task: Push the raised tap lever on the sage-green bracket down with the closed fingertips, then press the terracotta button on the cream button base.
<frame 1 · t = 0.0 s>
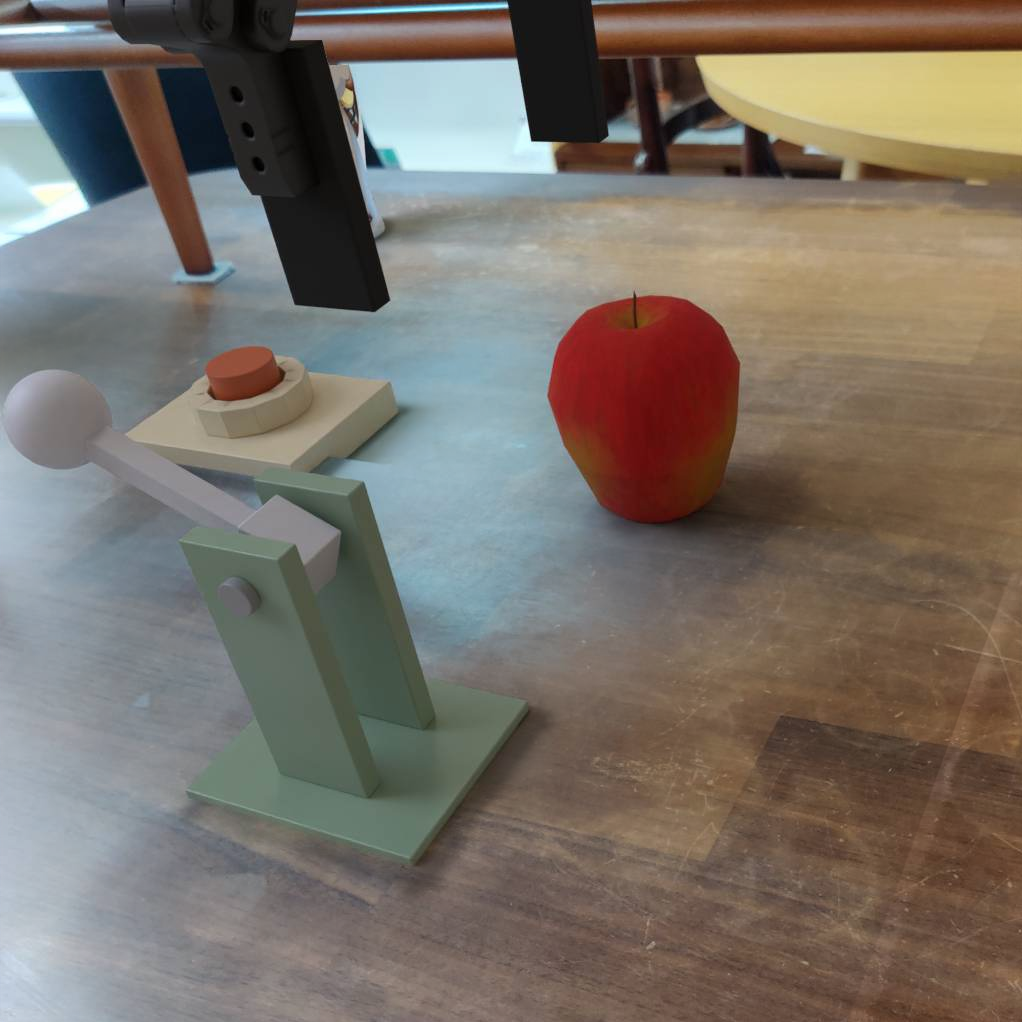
hand: (470, 212, 37), 21 cm above the table, tool pointing down, fingers open, 13 cm apart
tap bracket: (368, 768, 50), on the table
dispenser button: (243, 374, 71), point 4 cm above the table, slide at 0.1 cm
beer glass: (350, 237, 101), on the table
cream button base: (267, 440, 74), on the table
apple: (660, 513, 63), on the table
tap lever: (167, 482, 43), point 13 cm above the table, hinge at 25.0°
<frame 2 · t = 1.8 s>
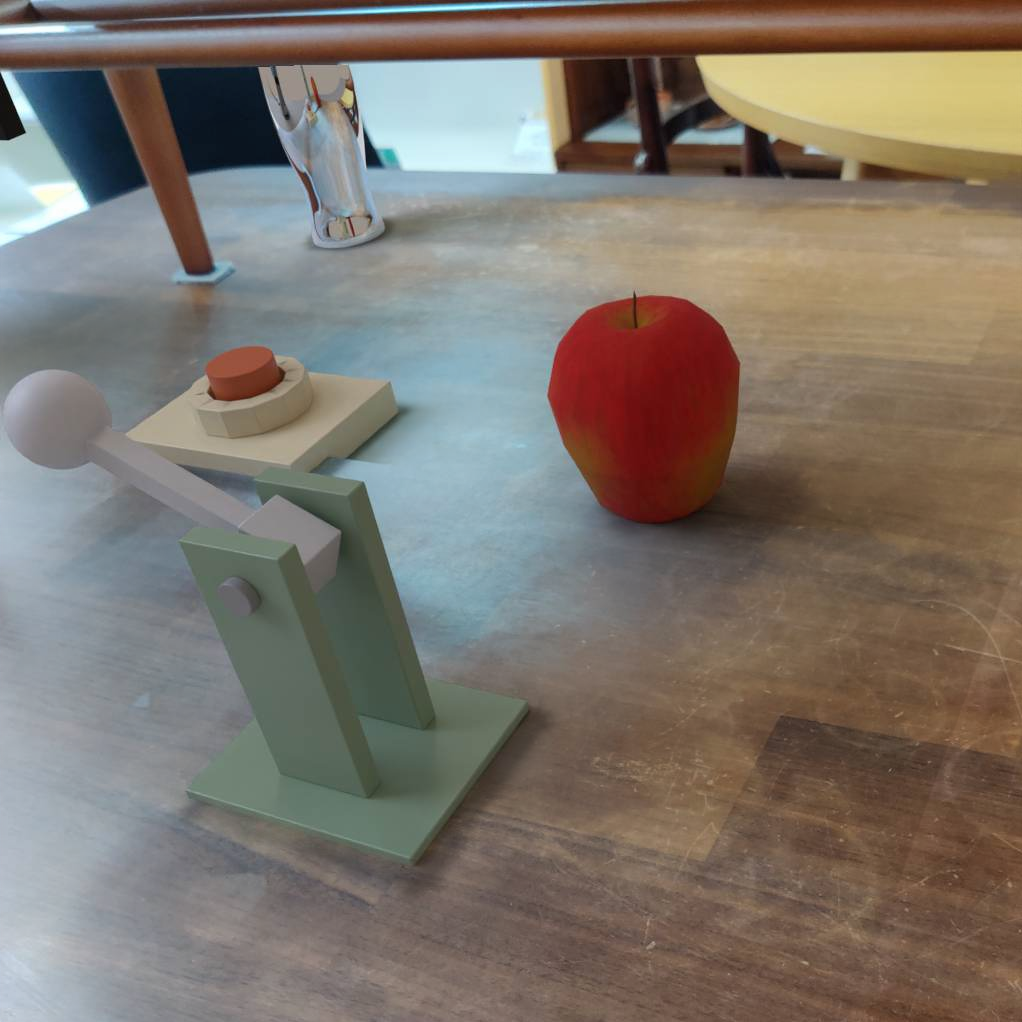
nothing on the table moved.
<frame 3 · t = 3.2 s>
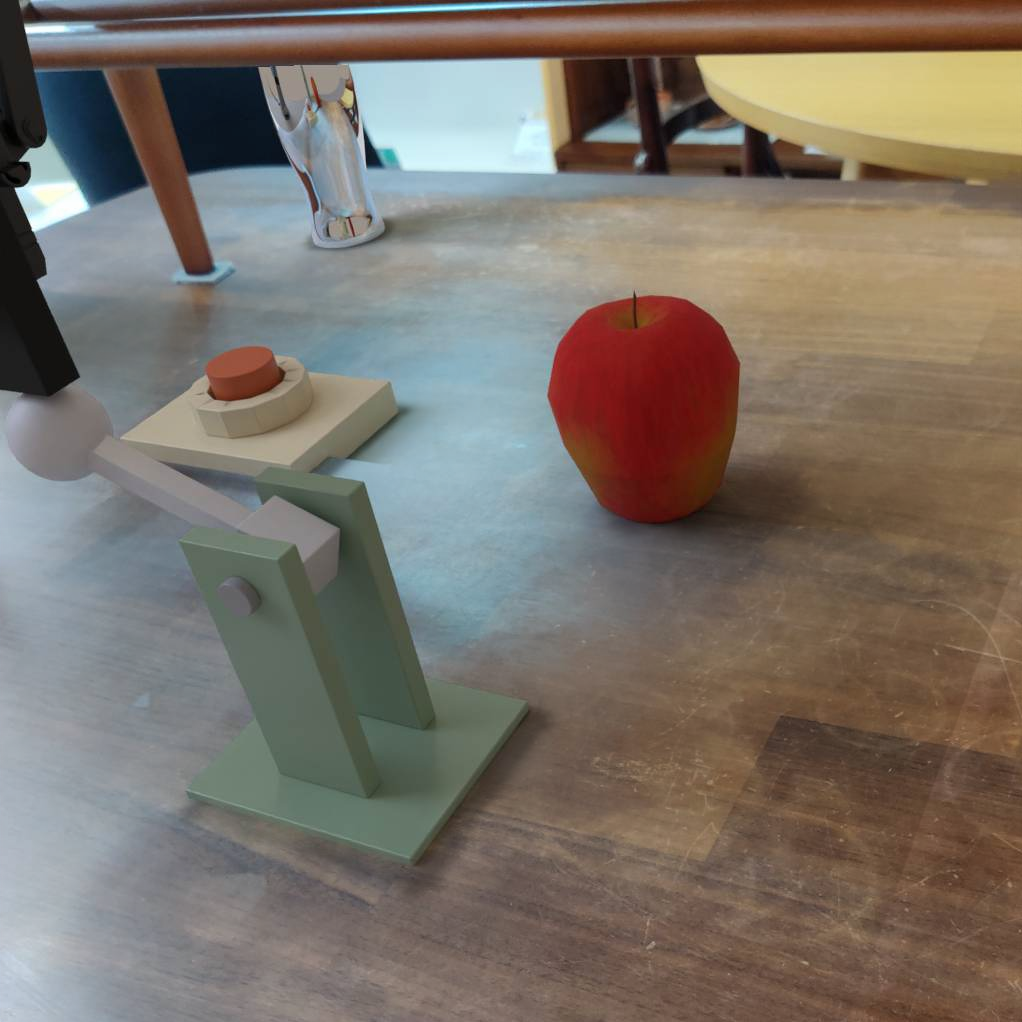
hand: (38, 382, 43), 17 cm above the table, tool pointing down, fingers closed
tap lever: (168, 488, 44), point 13 cm above the table, hinge at 21.5°, touching gripper
everything else where it was.
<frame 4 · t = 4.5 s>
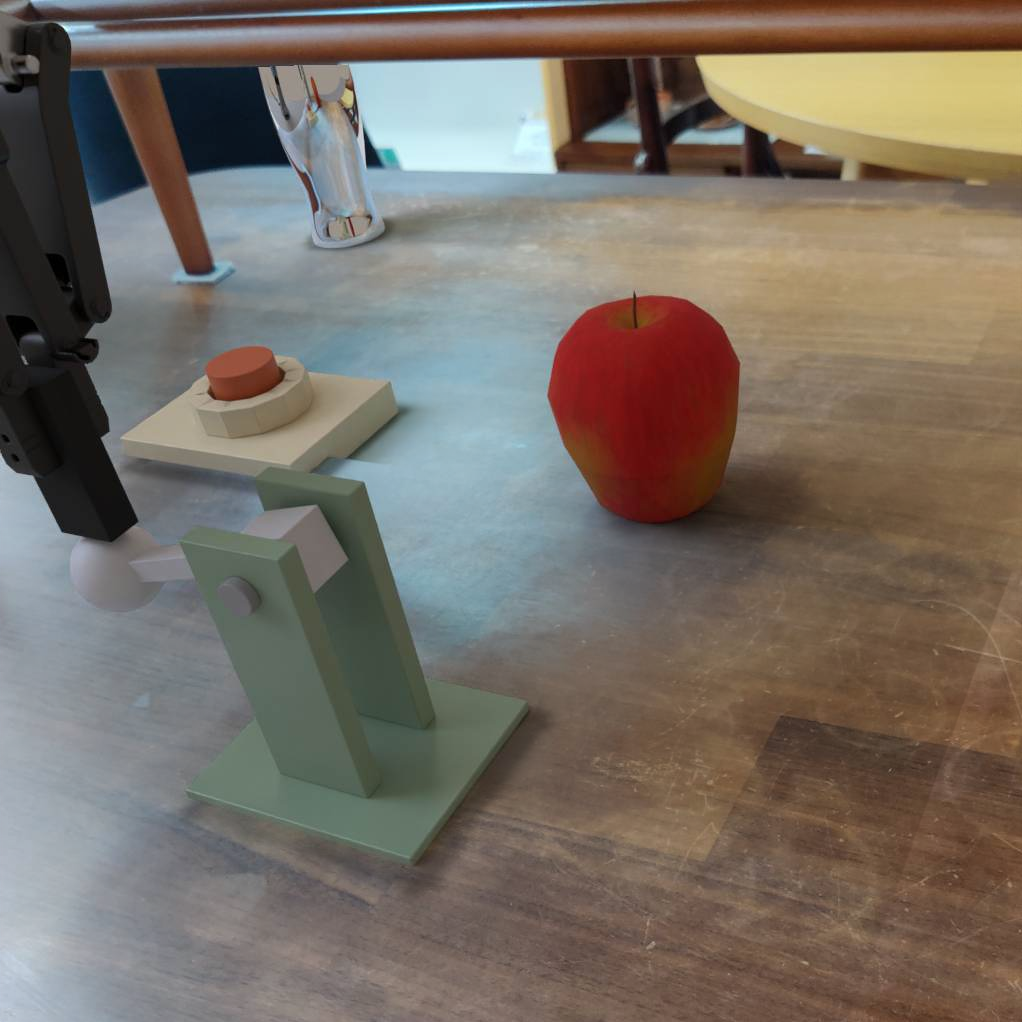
hand: (100, 526, 47), 10 cm above the table, tool pointing down, fingers closed
tap lever: (195, 560, 46), point 10 cm above the table, hinge at -14.9°, touching gripper
everything else where it was.
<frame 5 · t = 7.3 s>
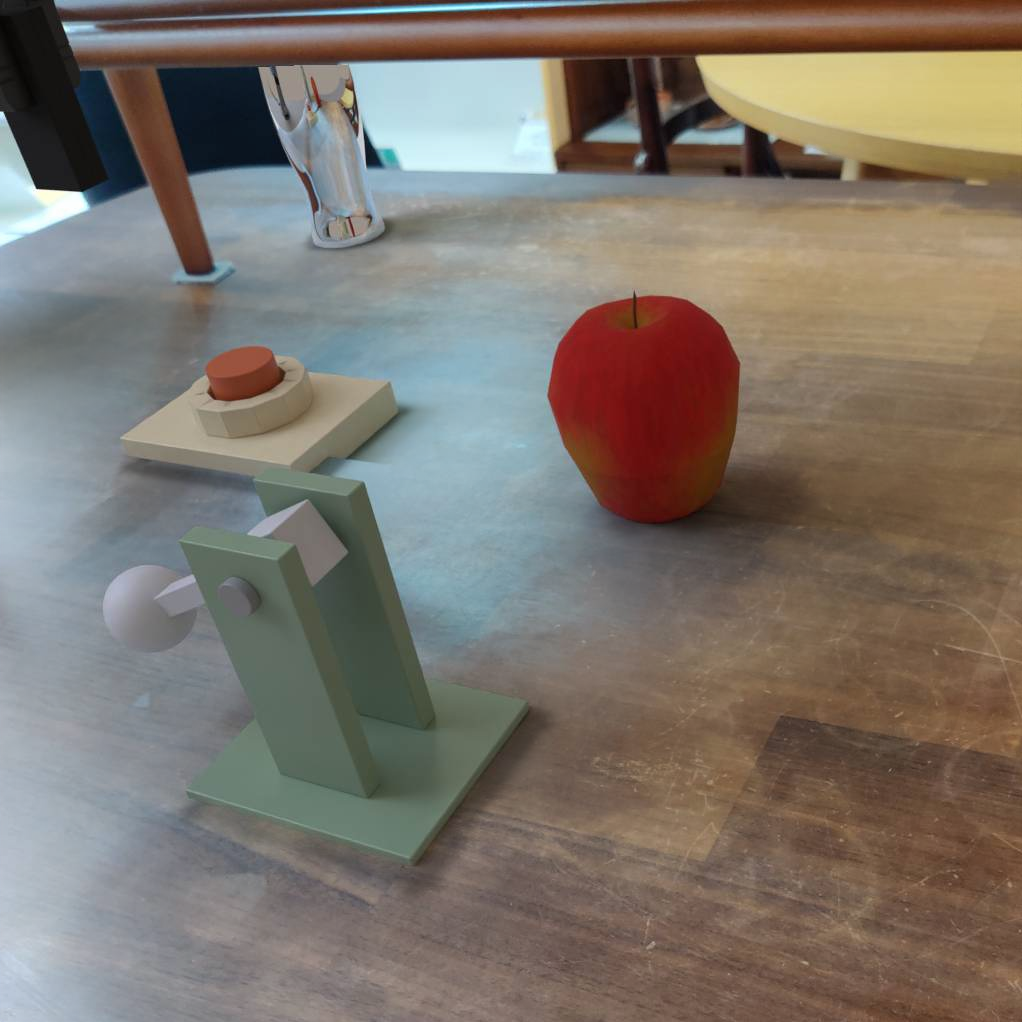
hand: (72, 183, 50), 20 cm above the table, tool pointing down, fingers closed
tap lever: (212, 583, 46), point 9 cm above the table, hinge at -26.8°
everything else where it was.
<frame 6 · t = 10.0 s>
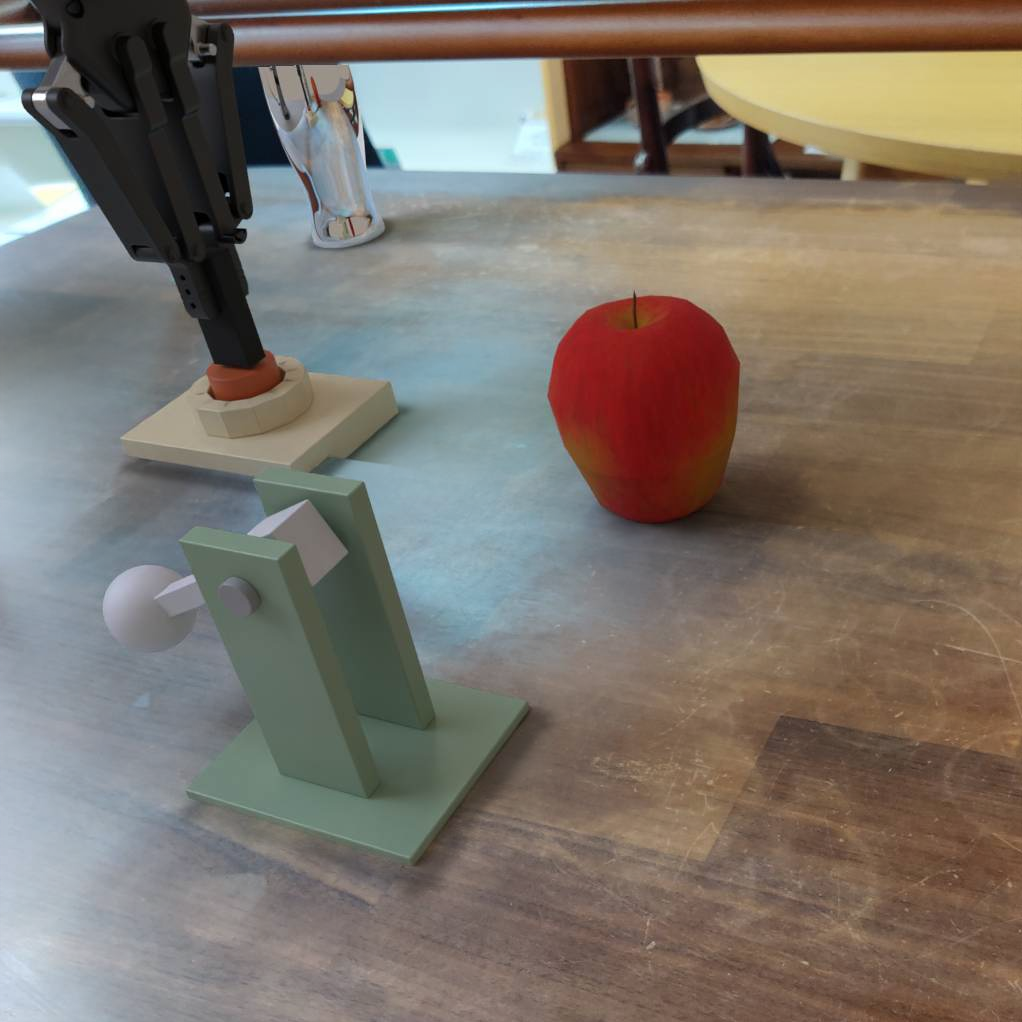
hand: (240, 359, 70), 5 cm above the table, tool pointing down, fingers closed
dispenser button: (244, 377, 71), point 4 cm above the table, slide at -0.1 cm, touching gripper
everything else where it was.
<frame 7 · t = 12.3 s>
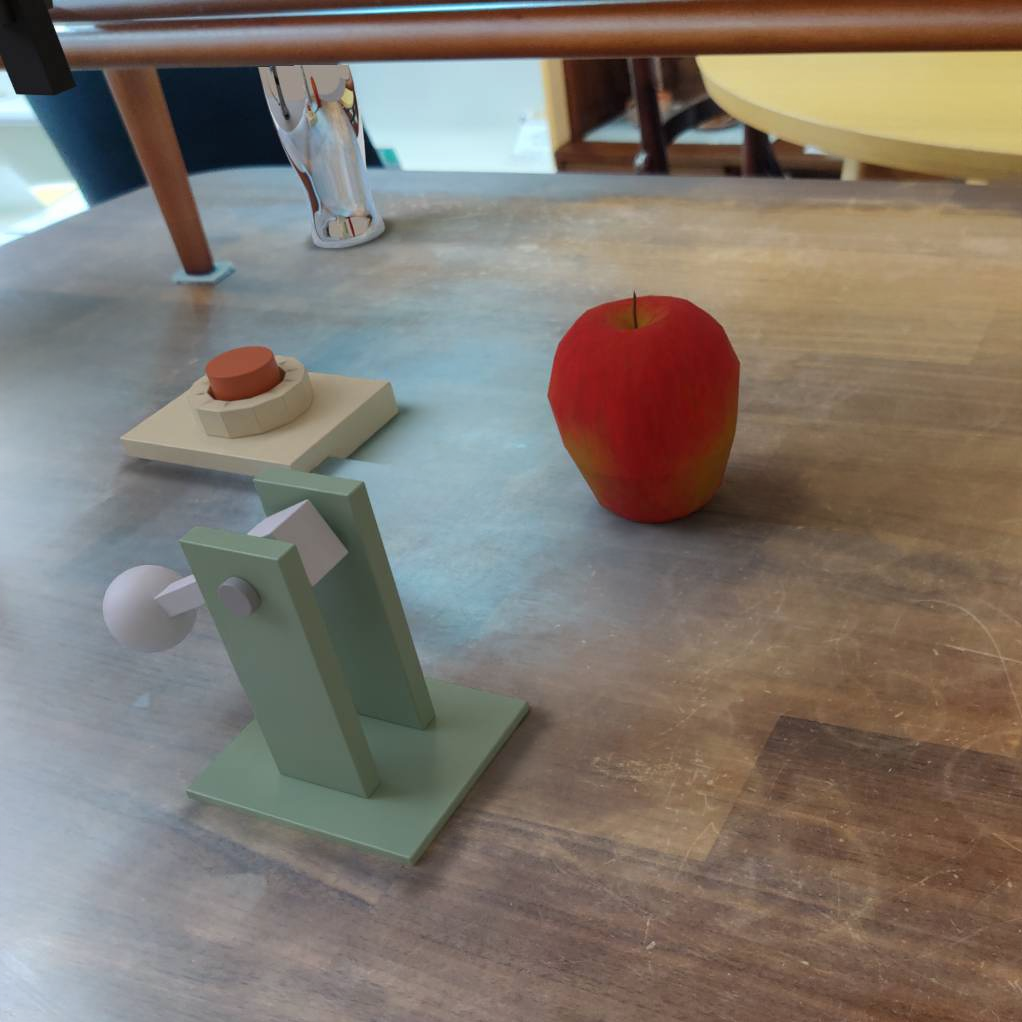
hand: (46, 89, 60), 21 cm above the table, tool pointing down, fingers closed
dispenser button: (243, 374, 71), point 4 cm above the table, slide at 0.1 cm
everything else where it was.
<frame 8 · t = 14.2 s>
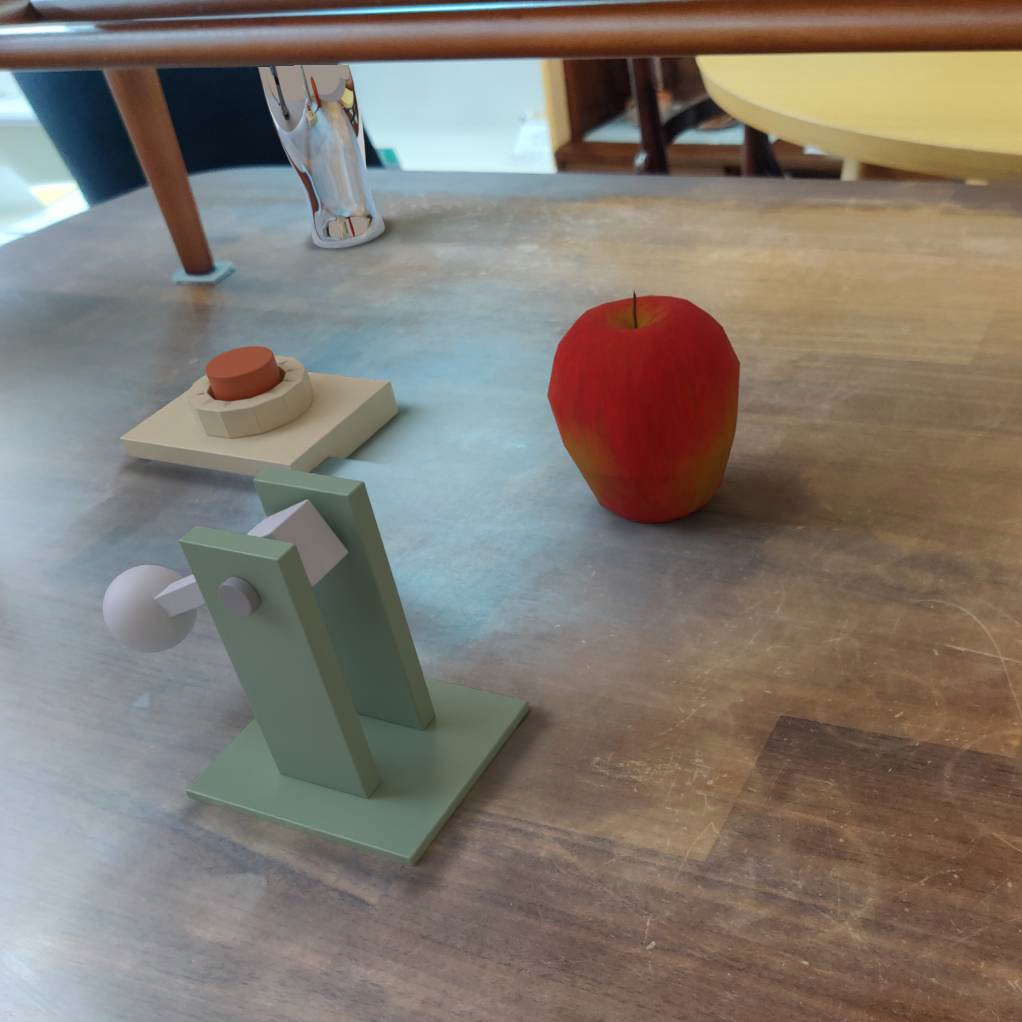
nothing on the table moved.
at the end: tap lever at -27° (first picture: +25°); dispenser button pushed in 1.0 cm at the most during the clip, back to where it started at the end; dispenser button slide at 0.1 cm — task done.
